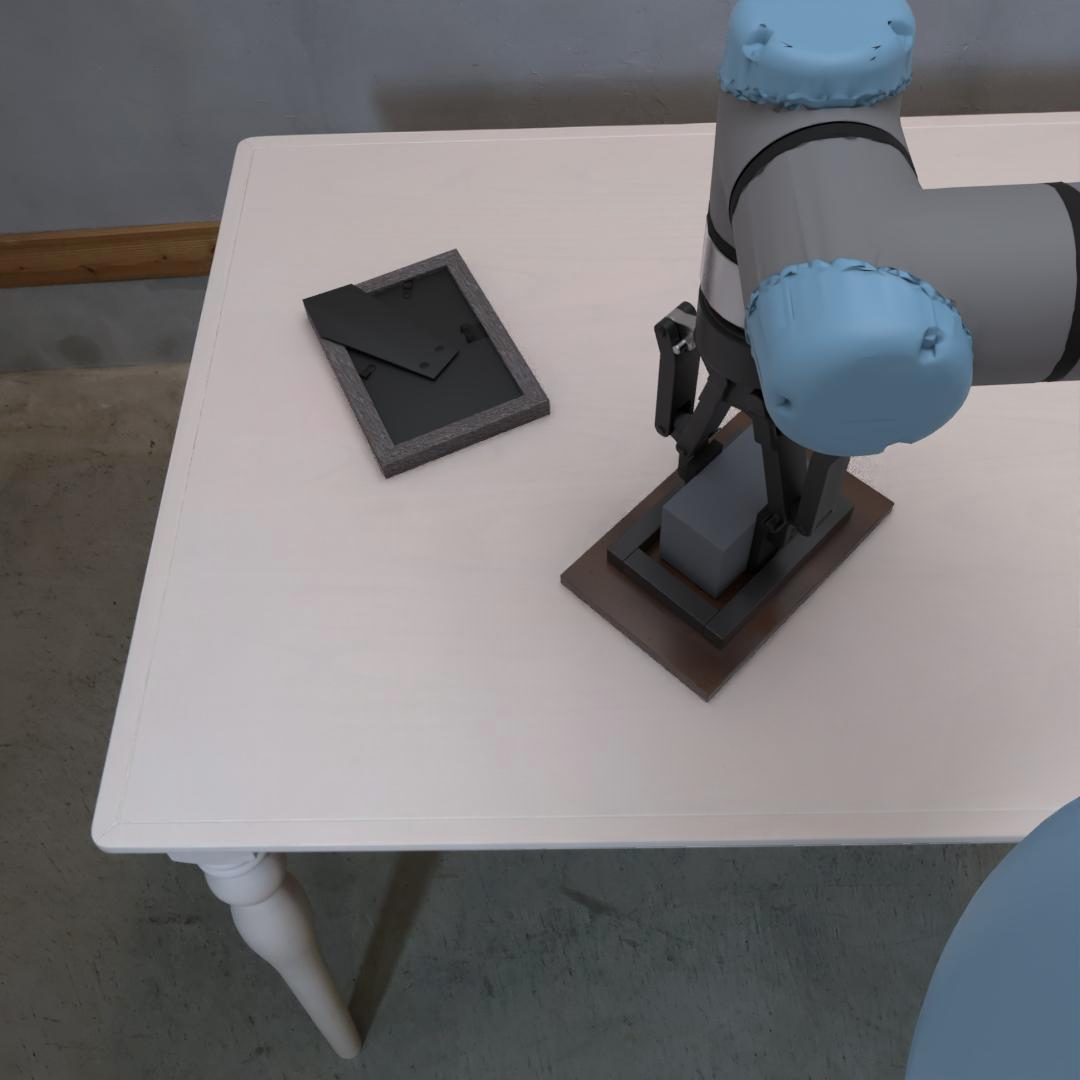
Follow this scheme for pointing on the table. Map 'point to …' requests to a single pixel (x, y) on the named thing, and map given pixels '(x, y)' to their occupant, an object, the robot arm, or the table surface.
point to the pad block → (716, 517)
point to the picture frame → (424, 361)
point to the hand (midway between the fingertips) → (730, 533)
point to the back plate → (691, 613)
